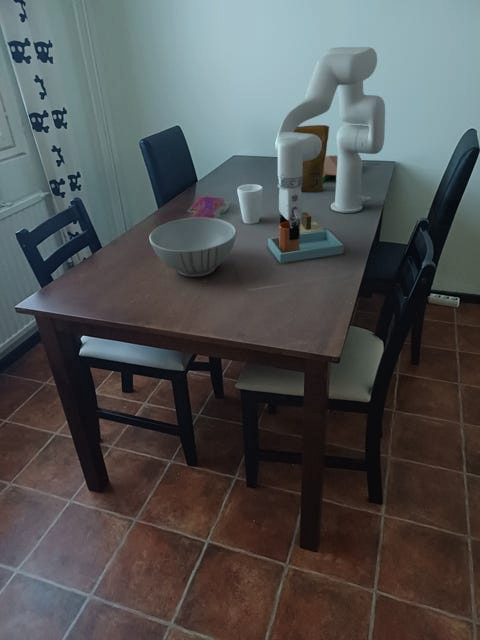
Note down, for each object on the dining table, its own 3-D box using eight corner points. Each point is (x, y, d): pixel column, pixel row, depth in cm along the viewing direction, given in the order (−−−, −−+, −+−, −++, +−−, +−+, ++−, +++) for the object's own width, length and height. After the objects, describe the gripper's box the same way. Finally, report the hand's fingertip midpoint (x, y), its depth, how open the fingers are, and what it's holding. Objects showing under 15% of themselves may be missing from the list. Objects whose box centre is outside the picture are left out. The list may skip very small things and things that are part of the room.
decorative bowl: (206, 296, 137) (203, 257, 130) (137, 276, 149) (130, 241, 143) (253, 259, 156) (252, 224, 149) (188, 245, 168) (184, 212, 162)
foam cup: (260, 225, 180) (260, 192, 173) (237, 225, 182) (235, 191, 175) (264, 216, 188) (264, 184, 181) (241, 216, 190) (240, 183, 183)
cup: (295, 246, 162) (295, 220, 156) (302, 254, 156) (302, 227, 151) (276, 249, 160) (276, 222, 155) (282, 257, 155) (282, 230, 150)
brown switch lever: (301, 224, 171) (301, 212, 168) (305, 224, 171) (306, 211, 169) (306, 229, 167) (306, 216, 164) (310, 229, 167) (311, 216, 165)
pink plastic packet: (215, 230, 179) (214, 217, 176) (177, 228, 182) (176, 215, 179) (234, 203, 203) (234, 191, 200) (201, 202, 206) (199, 190, 203)
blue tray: (327, 238, 167) (327, 229, 165) (343, 254, 156) (343, 244, 154) (268, 247, 163) (268, 238, 161) (280, 264, 152) (280, 254, 150)
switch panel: (314, 228, 175) (314, 220, 174) (323, 237, 168) (324, 229, 166) (283, 232, 173) (283, 224, 172) (291, 242, 166) (291, 234, 164)
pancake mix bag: (325, 194, 208) (328, 126, 193) (282, 192, 212) (282, 126, 197) (326, 189, 213) (330, 123, 198) (284, 188, 218) (285, 123, 203)
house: (360, 166, 241) (362, 150, 236) (340, 185, 217) (341, 167, 212) (318, 163, 250) (318, 147, 246) (293, 180, 226) (293, 163, 222)
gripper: (311, 187, 139) (309, 242, 148) (292, 172, 153) (291, 223, 162) (287, 190, 138) (286, 245, 147) (270, 175, 152) (270, 226, 161)
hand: (289, 233), depth 155 cm, fingers open, 9 cm apart
